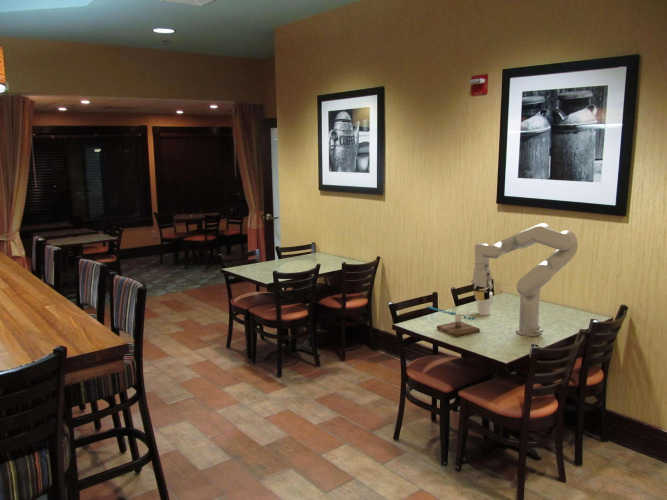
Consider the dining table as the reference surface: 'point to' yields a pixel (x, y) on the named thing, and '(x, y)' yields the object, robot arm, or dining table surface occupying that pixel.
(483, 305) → the foam cup
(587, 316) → the dining table surface
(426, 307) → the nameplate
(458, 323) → the steel post
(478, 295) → the brass ring
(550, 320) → the dining table surface
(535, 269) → the robot arm
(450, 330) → the walnut board
